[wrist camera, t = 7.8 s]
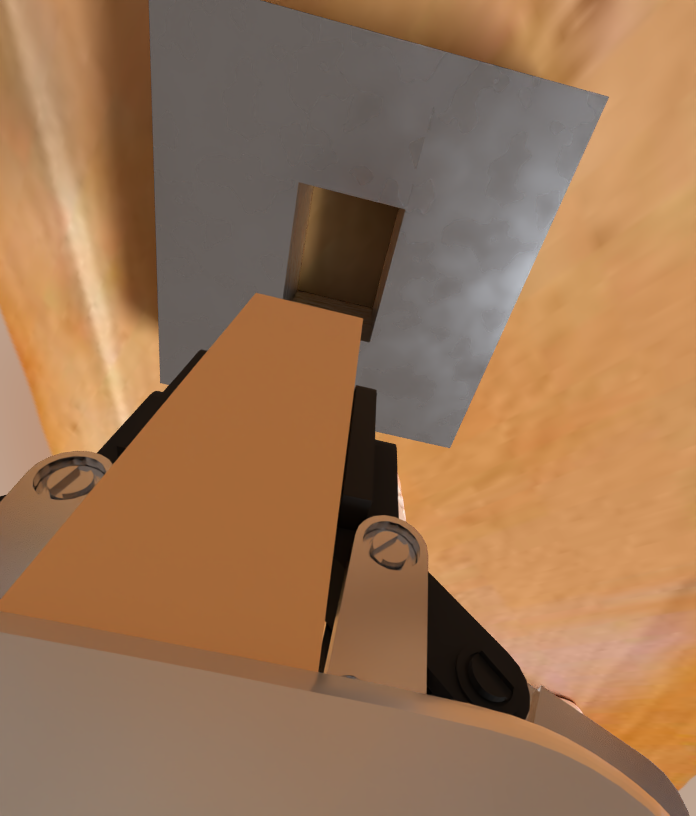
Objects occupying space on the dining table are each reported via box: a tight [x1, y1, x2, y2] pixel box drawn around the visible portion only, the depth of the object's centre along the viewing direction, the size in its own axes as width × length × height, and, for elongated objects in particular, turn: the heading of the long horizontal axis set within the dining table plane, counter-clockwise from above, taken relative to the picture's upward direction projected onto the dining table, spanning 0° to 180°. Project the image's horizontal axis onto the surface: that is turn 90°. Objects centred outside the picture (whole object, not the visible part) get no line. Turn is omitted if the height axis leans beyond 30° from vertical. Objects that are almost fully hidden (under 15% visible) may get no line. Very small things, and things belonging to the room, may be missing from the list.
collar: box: [149, 0, 609, 448], centre depth 26 cm, size 20×20×6 cm
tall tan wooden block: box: [0, 293, 363, 672], centre depth 9 cm, size 3×5×10 cm, turn 167°
